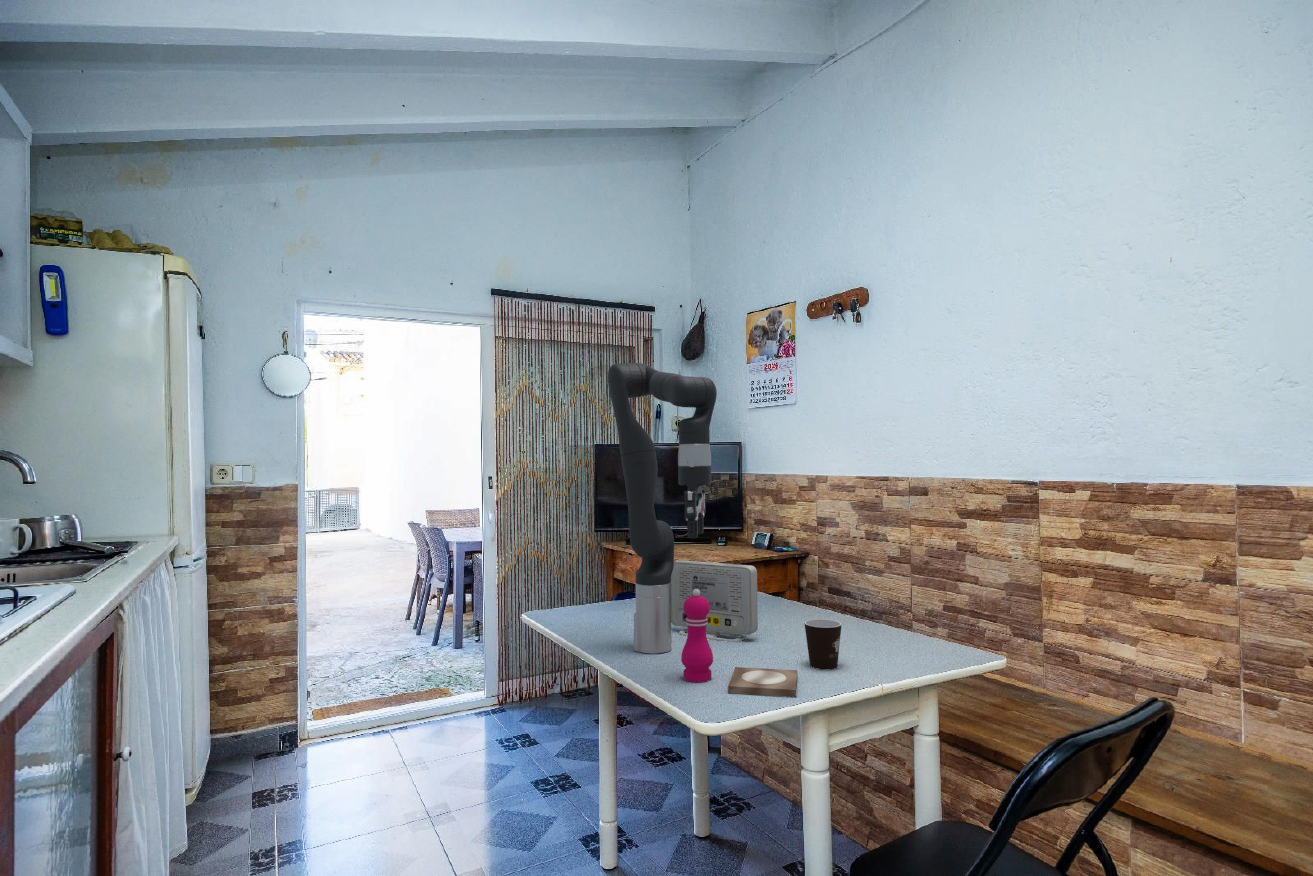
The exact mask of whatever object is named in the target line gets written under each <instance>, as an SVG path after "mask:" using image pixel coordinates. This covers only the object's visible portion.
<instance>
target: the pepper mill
mask: <svg viewBox="0 0 1313 876" xmlns="http://www.w3.org/2000/svg"><path fill="white" fill-rule="evenodd" d="M699 595H700V590H698V589H694V590H693V596H691V597H689V598H687V599H686V600H685V602H684V605H683V610H684V613H685V614H686V615H687V617H686V624H687V625H688V627H687V628H688V632H687V634H688V636H687V637H686V641H685V644H684V646H683V648H682V651H681V654H680V655H681V658H680V661H681V663H682V665H683V666H684V669H683V679H684V680H685V681H686V682H690V683H705V682H708V680H709V681H711V679H712V670H711V669H710V667H711V666H712V664H713V663H714V654H713V650H712V647H711V645H710V643H709V640H707V636H706V633H707V632H706V625H707V624H708V622H707V620H708V618H707V617H706V616H707V614H708V613H709V611H710V605H709V602H708V600H707V599H706V598H704V597H702V596H699Z"/></svg>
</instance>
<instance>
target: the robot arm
mask: <svg viewBox="0 0 1313 876" xmlns="http://www.w3.org/2000/svg"><path fill="white" fill-rule="evenodd" d="M607 385H608V391H609V397H610V400H611V405H612V409H613V413H614V418H615V423H616V428H617V434H618V441H619V442H618V443H619V451H620V452H619V453H620V460H621V466H622V472H623V478H624V484H625V485H624V486H625V492H626V500H627V510H628V532H629V534H628V535H629V542H630V546H631V549H632V551H634V553H635V555H636V556H638V557H640V558H641V561H640V562H641V563H640V565H639V568H638V569H637V570H636V572H635V578H634V579H635V612H634V613H633V651H634V652H639V653H644V654H663V653H668V652H670V651H671V650H672V649H673V648H672V645H673V644H672V642H673V641H672V640H673V639H672V623H671V574H672V572H673V566H674V562H675V561H674V560H675V559H674V558H675V538H674V532H673V530H672V528H671V526H670V525H669V524H668V523H667V522H665V521H664V520H658V519H657V517H656V516H657V515H656V512H655V502H654V501H655V492H656V491H655V490H656V487H657V481H658V473H659V468H658V467H659V466H658V459H657V452H656V446H655V444H654V441H653V440H652V438H651V436H650V435H649V433H648V432H647V431H646V430H645V428H644V427H643V426H642V425H641V423H639V421H638V420H637V418H636V416H635V415H634V412H633V410H632V407H631V404H630V399H633V398H642V397H645V396H646V397H647V396H653V397H654V398H655V399H656V400H658V401H662V402H666V403H670V404H671V405H673V406H674V407H678V408H679V407H680V408H695V410H694V413H693V415H692V416H691V417H686V418H683V419H681V420H680V421H679V422H678V423H679V424H678V451H677V470H678V471H677V473H678V474H677V475H678V477H677V478H678V479H677V481H678V482H677V483H678V485H680V486H685V487H687V490H684V493H683V495H684V515H683V518H684V519H685V521H686V522H687V523H686V525H687V526H686V529H687V531H686V532H687V538H688V539H697V538H698V537H699V536H698V535H703V534H704V530H705V529H704V518H705V514H706V512H707V510H706V490H705V488H703V487H702V486H710V485H712V452H711V446H710V443H711V441H710V439H711V438H710V437H711V436H710V433H711V432H710V425H711V421H712V417H713V412H714V408H715V405H716V401H717V394H718V393H717V387H716V384H715V382H714V381H713V380H712V379H711V378H709V377H703V376H685V375H682V374H678V373H673V372H665V371H659V370H657V369H655V368H653V367H651V366H649V365H647V364H644V363H641V362H624V363H622V362H621V363H613V364H611V366H610V367H608V371H607Z"/></svg>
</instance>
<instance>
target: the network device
mask: <svg viewBox="0 0 1313 876" xmlns="http://www.w3.org/2000/svg"><path fill="white" fill-rule="evenodd" d="M694 589H698V590H700V595H699V596H702V597H704V598H706V599H707V600H708V602H709V605H710V611H709V613H708V614H707V616H706V617H707V618H708V620H707V622H708V624H707V625H706V631H707V632H706V636H707V639H709V640H708V641H714V640H716V641H715V642H721V641H727V642H726V643H728V642H736V643H739V642H738V641H740V642H742V640H743V641H745V640H746V639H747V638H748V636H750V635H753V634H754V633H756V632H757V631H758V628H759V622H758V620H759V618H758V617H759V616H758V615H759V613H758V612H759V611H758V607H759V606H758V570H757V568H756V567H755V566H754V565H750V564H749V565H747V564H734V563H723V562H721V563H720V562H709V561H695V560H681V559H680V560H676V561H674V566H673V572H672V574H671V625H672V626H675V627H680V628H684V629H682V630H679V635H680V636H681V635H683V636H682V637H686V636H688V625H687V624H686V617H687V615H686V614H685V613H684V610H683V605H684V602H685V600H686V599H687V598H689V597H691V596H693V590H694ZM684 632H687V633H684ZM720 634H722V635H728V634H731V635H730V636H735V635H736V637H737V638H734V639H728V638H723V637H719V636H721V635H720ZM715 636H717V637H715ZM744 639H745V640H744Z"/></svg>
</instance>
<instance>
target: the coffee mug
mask: <svg viewBox="0 0 1313 876" xmlns="http://www.w3.org/2000/svg"><path fill="white" fill-rule="evenodd" d="M842 625H843V624H842V622H840V621H838V620H835V619H824V618H823V619H822V618H818V619H817V618H816V619H808V620H806V621H804V631H805V638H806V644H807V645H806V646H807V652H808V654H807V655H808V661H809V666H810V667H811V666H812V667H811V668H813V667H814V669H816V668H819V669H818V670H823V669H830V670H834V668H835V669H837V668H838V666H839V665H838V664H839V654H840V643H841V635H842Z"/></svg>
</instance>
